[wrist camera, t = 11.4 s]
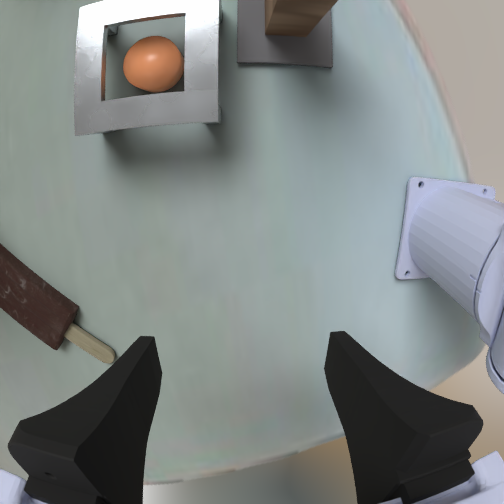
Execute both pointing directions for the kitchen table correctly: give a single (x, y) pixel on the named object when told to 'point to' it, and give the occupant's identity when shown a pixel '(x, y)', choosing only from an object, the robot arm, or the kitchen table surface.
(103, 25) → the guard frame
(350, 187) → the kitchen table surface
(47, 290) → the ice cream bar
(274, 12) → the stylus stick
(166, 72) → the button
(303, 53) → the pad
